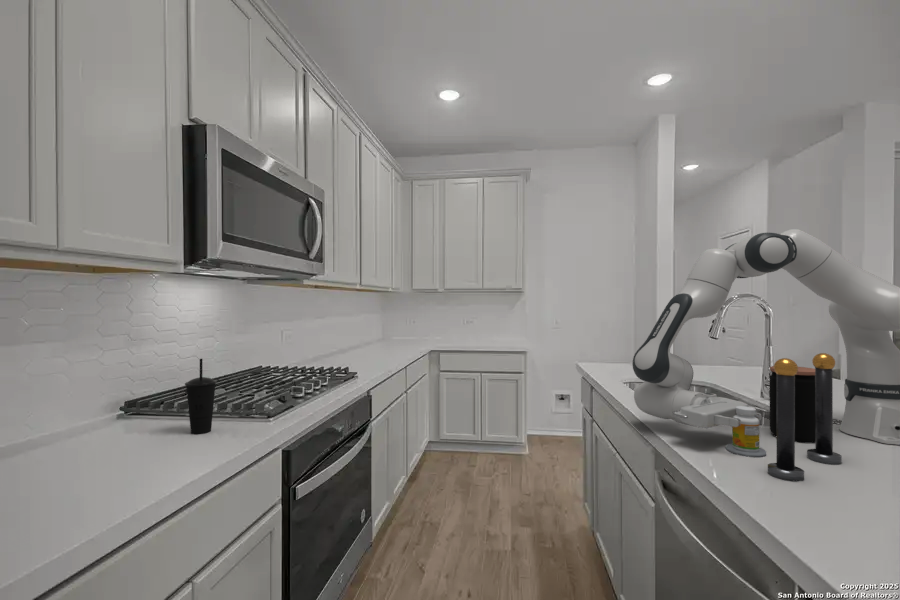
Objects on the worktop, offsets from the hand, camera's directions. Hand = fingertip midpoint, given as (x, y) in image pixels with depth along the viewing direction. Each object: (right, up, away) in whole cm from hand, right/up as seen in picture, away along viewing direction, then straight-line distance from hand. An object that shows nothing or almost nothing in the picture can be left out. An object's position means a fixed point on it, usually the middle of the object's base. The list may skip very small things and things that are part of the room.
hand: (749, 420), depth 107 cm
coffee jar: (+20, -8, +12) cm, 24 cm away
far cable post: (+13, -8, -5) cm, 16 cm away
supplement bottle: (0, -7, +1) cm, 7 cm away
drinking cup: (-139, -8, +17) cm, 140 cm away
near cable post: (-2, -8, -14) cm, 16 cm away
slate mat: (0, -8, +1) cm, 8 cm away
